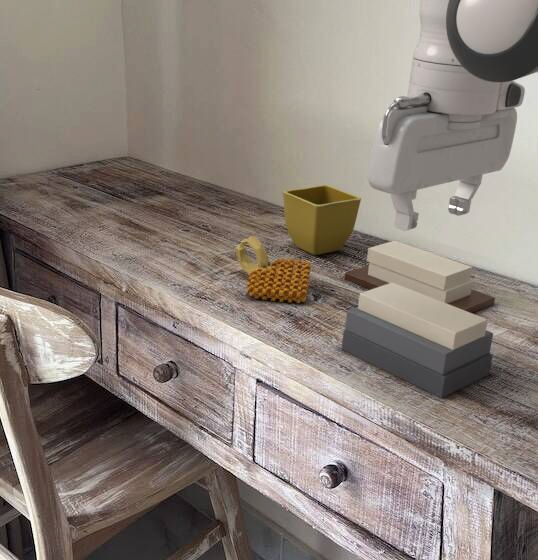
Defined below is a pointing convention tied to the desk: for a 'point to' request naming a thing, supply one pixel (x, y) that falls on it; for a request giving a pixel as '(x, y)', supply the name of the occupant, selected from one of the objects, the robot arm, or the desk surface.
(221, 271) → the desk surface
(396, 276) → the cream stack
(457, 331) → the cream book
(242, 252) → the ornament
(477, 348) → the grey stack
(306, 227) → the flower pot
